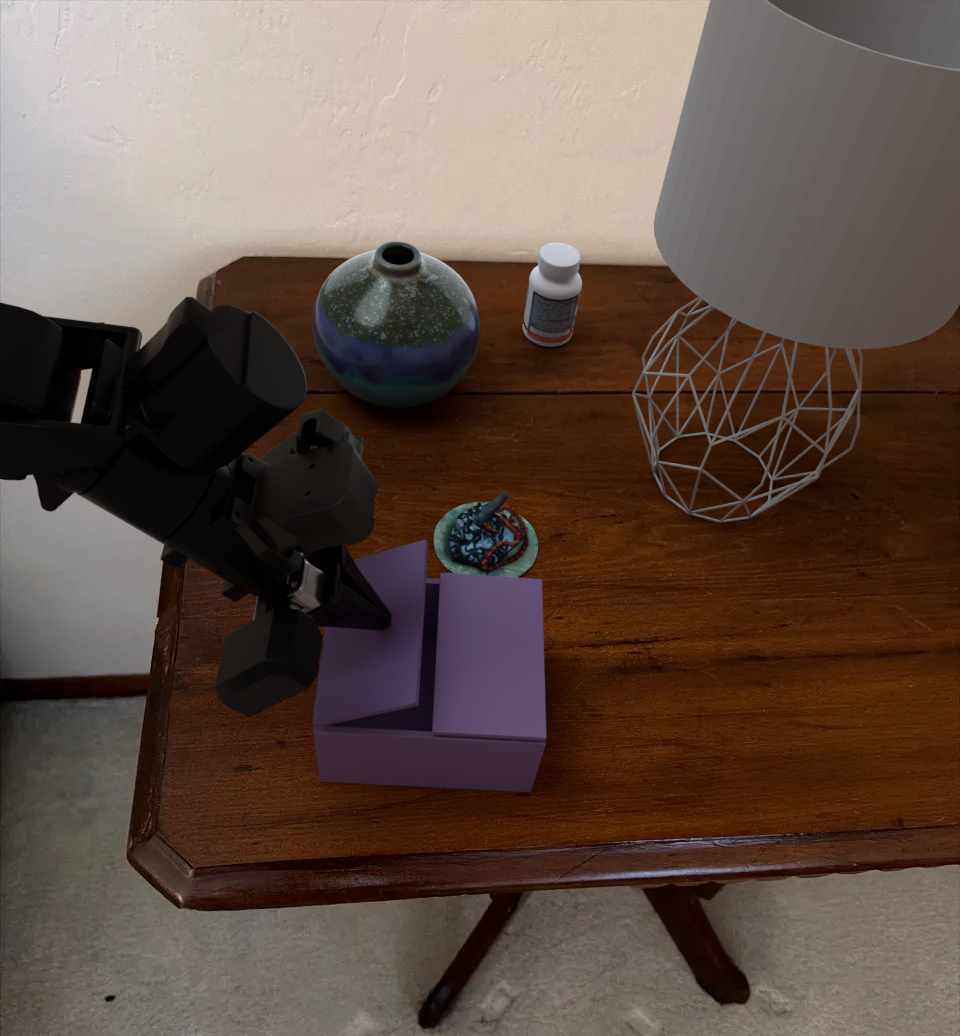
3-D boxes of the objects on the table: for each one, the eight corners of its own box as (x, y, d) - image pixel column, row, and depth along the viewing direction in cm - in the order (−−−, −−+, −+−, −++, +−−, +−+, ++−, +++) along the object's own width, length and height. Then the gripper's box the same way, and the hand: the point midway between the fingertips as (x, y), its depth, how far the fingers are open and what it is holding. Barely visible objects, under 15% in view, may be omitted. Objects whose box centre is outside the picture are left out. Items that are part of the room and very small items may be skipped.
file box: (319, 781, 64) (312, 725, 57) (338, 630, 72) (334, 564, 65) (530, 792, 65) (547, 738, 58) (528, 642, 73) (543, 578, 66)
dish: (441, 478, 78) (504, 479, 73) (495, 510, 83) (557, 513, 78) (413, 566, 77) (474, 573, 72) (469, 593, 82) (530, 601, 77)
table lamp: (562, 406, 88) (668, -100, 55) (770, 383, 93) (981, -97, 60) (641, 587, 77) (834, 82, 44) (873, 550, 81) (1207, 68, 48)
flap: (315, 727, 58) (311, 724, 57) (336, 568, 65) (333, 565, 65) (418, 706, 55) (415, 702, 55) (428, 542, 62) (426, 539, 62)
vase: (316, 434, 83) (305, 310, 72) (316, 326, 92) (307, 200, 81) (482, 434, 85) (497, 312, 74) (467, 328, 94) (479, 205, 83)
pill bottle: (579, 345, 94) (595, 267, 86) (532, 351, 93) (544, 274, 85) (561, 313, 96) (575, 235, 89) (515, 319, 95) (525, 241, 88)
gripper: (248, 572, 40) (478, 709, 50) (302, 306, 50) (483, 463, 60) (111, 658, 46) (340, 766, 56) (184, 405, 56) (366, 533, 66)
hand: (387, 623), depth 59 cm, fingers closed
